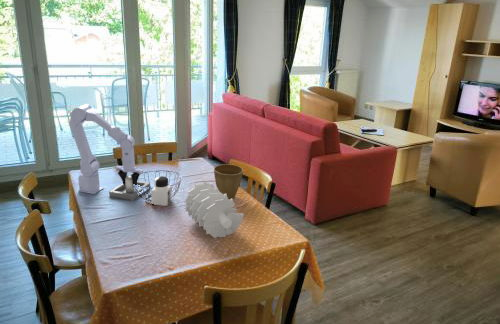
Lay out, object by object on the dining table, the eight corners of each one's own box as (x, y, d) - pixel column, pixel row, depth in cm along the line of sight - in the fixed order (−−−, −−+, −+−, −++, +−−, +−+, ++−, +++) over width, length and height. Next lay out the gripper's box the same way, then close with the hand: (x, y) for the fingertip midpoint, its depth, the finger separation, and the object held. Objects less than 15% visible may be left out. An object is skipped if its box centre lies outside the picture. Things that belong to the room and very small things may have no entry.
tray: (109, 196, 189) (109, 191, 188) (128, 184, 204) (128, 179, 203) (132, 201, 186) (132, 195, 185) (150, 188, 201) (149, 182, 200)
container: (171, 199, 190) (171, 175, 186) (167, 206, 183) (166, 181, 179) (156, 198, 191) (156, 174, 186) (151, 204, 184) (150, 180, 179)
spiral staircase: (216, 251, 157) (190, 222, 176) (250, 226, 163) (221, 200, 181) (201, 221, 146) (175, 194, 165) (237, 196, 152) (208, 172, 171)
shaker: (123, 191, 193) (123, 177, 191) (128, 189, 197) (128, 174, 195) (131, 193, 192) (131, 178, 190) (136, 190, 196) (135, 176, 194)
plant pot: (229, 206, 186) (230, 177, 181) (207, 197, 194) (207, 168, 189) (247, 197, 198) (249, 169, 192) (225, 189, 206) (227, 161, 200)
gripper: (111, 160, 187) (112, 185, 192) (137, 164, 184) (138, 190, 188) (119, 156, 194) (120, 180, 198) (144, 160, 190) (145, 184, 195)
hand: (130, 184), depth 194 cm, fingers open, 5 cm apart
